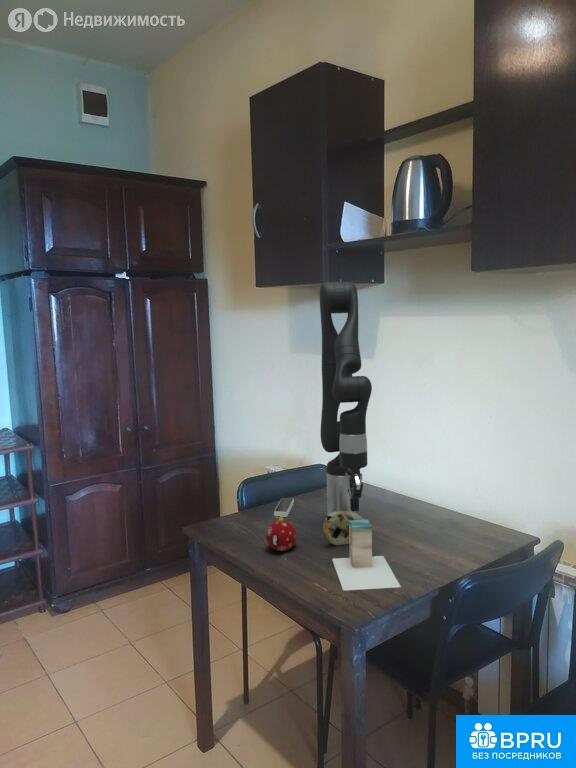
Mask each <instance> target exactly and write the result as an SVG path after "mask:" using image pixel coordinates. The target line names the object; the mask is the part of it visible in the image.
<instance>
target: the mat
mask: <svg viewBox="0 0 576 768" xmlns="http://www.w3.org/2000/svg"><path fill="white" fill-rule="evenodd" d="M331 559H332V562H333V565H334V569H335V571H336V574H337V577H338V579H339V583H340V585H341V588H342V591H343V592H344V591H345V592H346V591H360V590H374V589H391V588H393V589H394V588H396V589H397V588H401V587H402V586H401V584H400V582H399V581H398V579H397V577H396V575H395V574H394V572H393V571H392V569H391V567H390V565H389V563H388V561H387V560H386V558H385V556H384V555H375V556H373V555H372V567H367V568H353V567H352V565H351V562H350V557H340V558H339V557H338V558H331Z"/></svg>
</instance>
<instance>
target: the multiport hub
mask: <svg viewBox="0 0 576 768" xmlns="http://www.w3.org/2000/svg"><path fill="white" fill-rule="evenodd" d="M294 501H295V499H294V498H293V497H281V498H280V500H279V502H278V504H277V506H276V507H275V509H274V511H273V512H274V513H273V517H274V516H283V517H287V516H288V517H289V515H290V513H291V511H290V510H292V509H293V507H294V504H295V502H294ZM293 503H294V504H293ZM292 506H293V507H292ZM291 508H292V509H291ZM289 512H290V513H289ZM288 514H289V515H288ZM288 517H287V518H288Z"/></svg>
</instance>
